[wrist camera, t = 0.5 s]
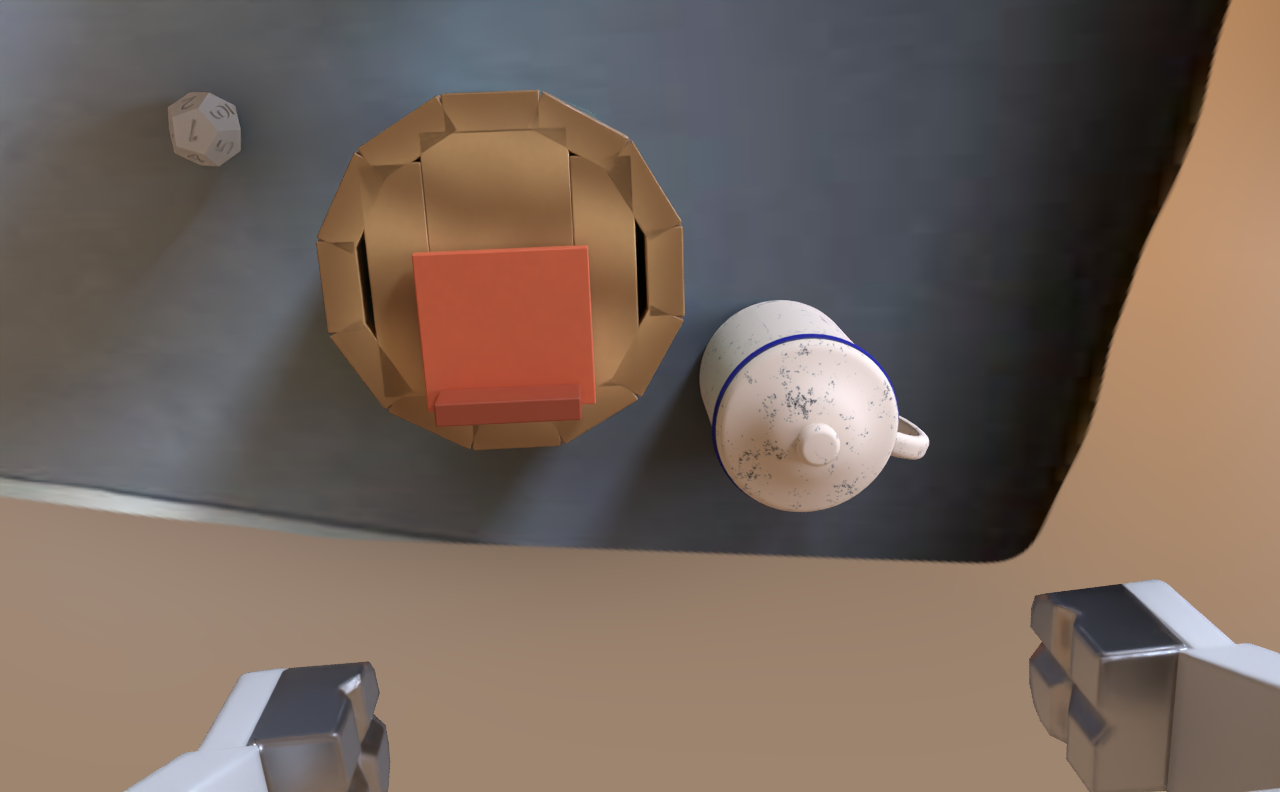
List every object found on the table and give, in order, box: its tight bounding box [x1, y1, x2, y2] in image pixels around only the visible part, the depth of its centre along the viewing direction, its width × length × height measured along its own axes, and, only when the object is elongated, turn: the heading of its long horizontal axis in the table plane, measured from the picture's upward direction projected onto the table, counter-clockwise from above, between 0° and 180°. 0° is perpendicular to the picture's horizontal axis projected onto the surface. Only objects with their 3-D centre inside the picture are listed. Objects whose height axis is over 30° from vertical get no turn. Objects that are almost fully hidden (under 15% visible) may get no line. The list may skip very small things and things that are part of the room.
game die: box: [168, 92, 241, 166], centre depth 51 cm, size 4×4×3 cm
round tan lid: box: [316, 90, 685, 450], centre depth 44 cm, size 15×15×1 cm
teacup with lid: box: [699, 300, 929, 512], centre depth 53 cm, size 12×9×12 cm
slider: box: [412, 245, 596, 427], centre depth 43 cm, size 7×7×3 cm
